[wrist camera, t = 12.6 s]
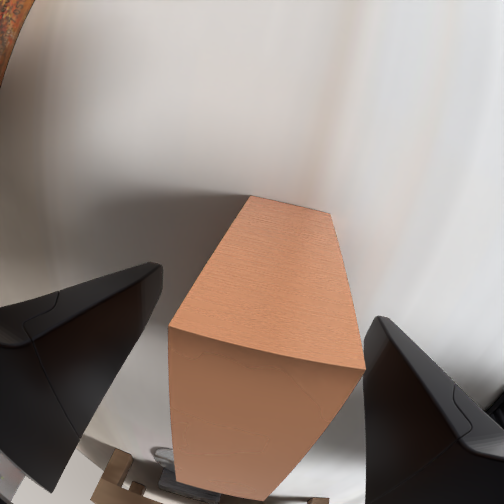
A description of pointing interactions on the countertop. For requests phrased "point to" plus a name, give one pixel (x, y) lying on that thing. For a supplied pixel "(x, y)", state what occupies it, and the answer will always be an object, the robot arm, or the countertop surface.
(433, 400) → the robot arm
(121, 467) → the walnut shelf
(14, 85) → the countertop surface
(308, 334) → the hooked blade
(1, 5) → the tin
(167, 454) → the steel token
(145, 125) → the countertop surface
